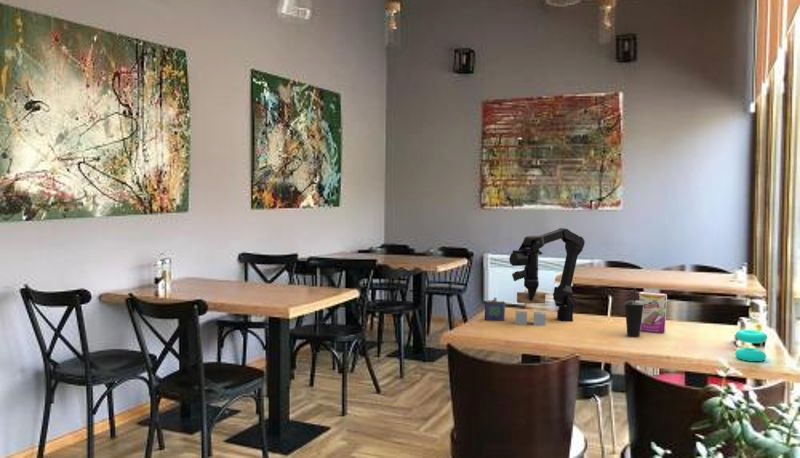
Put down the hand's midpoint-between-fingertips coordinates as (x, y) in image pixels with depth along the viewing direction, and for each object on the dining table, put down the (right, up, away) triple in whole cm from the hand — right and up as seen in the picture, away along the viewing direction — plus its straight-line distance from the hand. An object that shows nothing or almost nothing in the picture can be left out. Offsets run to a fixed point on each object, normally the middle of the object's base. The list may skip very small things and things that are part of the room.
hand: (530, 299), depth 305 cm
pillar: (+4, -11, 0) cm, 12 cm away
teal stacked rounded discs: (+68, -16, -58) cm, 91 cm away
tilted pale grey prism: (-4, -11, +1) cm, 12 cm away
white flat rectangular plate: (0, -11, +1) cm, 11 cm away
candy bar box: (+49, -13, -12) cm, 52 cm away
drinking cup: (+39, -13, -21) cm, 46 cm away
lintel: (0, -1, 0) cm, 1 cm away
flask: (-15, -11, +8) cm, 20 cm away
